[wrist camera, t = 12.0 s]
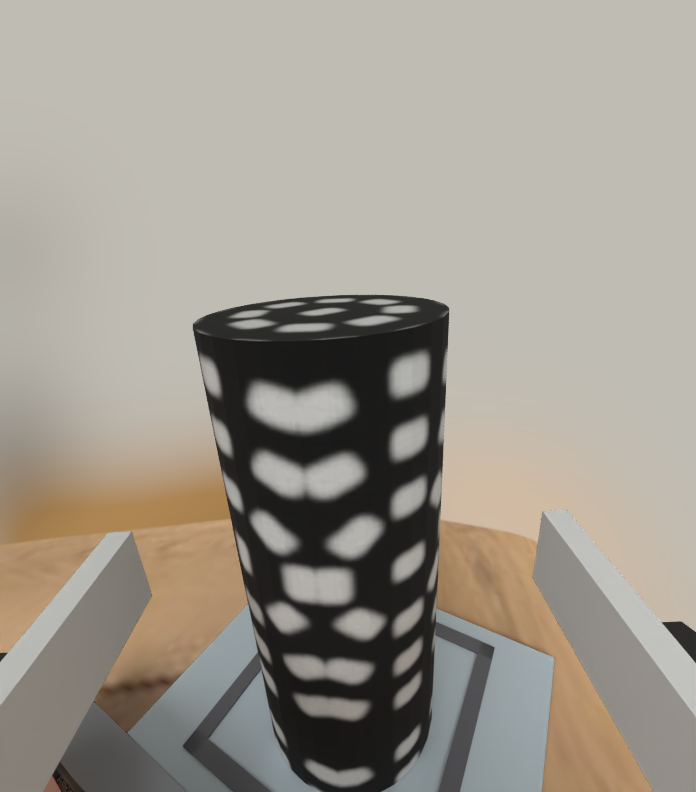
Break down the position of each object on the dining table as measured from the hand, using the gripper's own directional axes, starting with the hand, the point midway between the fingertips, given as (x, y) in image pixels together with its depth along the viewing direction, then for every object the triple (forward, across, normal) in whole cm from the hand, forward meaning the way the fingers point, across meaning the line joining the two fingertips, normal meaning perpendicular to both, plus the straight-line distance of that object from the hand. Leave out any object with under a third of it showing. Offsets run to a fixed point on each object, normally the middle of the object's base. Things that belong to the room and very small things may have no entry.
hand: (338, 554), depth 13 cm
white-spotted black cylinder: (+4, 0, -13) cm, 13 cm away
